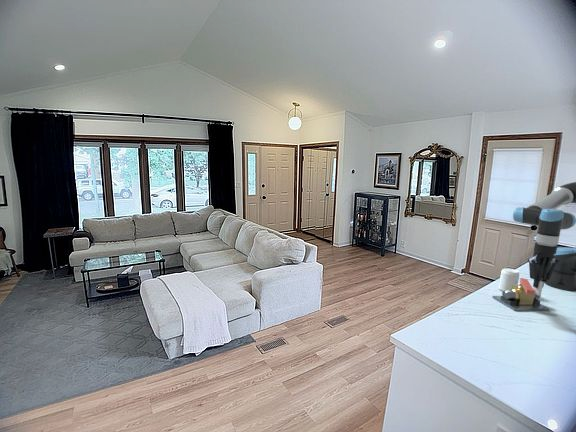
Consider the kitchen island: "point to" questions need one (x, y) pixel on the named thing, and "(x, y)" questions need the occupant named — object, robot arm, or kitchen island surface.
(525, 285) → the lever
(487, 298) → the kitchen island surface
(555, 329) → the kitchen island surface
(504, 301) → the valve fixture
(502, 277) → the beverage can
